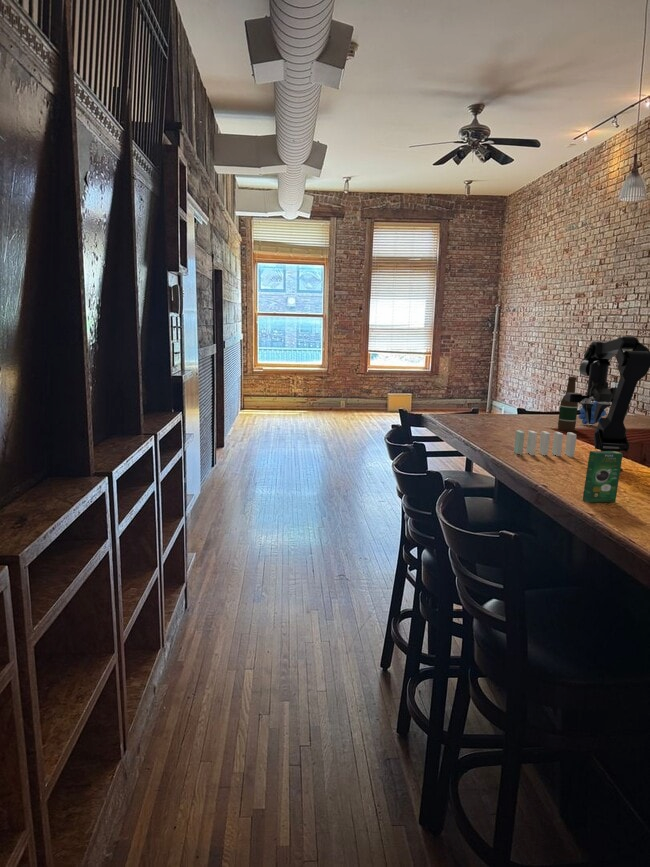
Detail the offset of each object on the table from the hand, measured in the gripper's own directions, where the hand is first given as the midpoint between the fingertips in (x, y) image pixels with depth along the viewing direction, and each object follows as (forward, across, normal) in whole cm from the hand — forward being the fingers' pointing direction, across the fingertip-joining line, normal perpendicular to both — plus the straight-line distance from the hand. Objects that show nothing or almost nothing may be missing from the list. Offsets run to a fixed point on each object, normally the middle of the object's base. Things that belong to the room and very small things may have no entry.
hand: (592, 423), depth 191 cm
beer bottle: (+12, +12, +57) cm, 60 cm away
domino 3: (+12, -16, 0) cm, 20 cm away
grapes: (+12, +29, +75) cm, 81 cm away
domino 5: (+12, -6, 0) cm, 14 cm away
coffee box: (+12, -18, -56) cm, 60 cm away
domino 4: (+12, -11, 0) cm, 16 cm away
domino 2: (+12, -20, -1) cm, 23 cm away
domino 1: (+12, -24, -1) cm, 27 cm away
